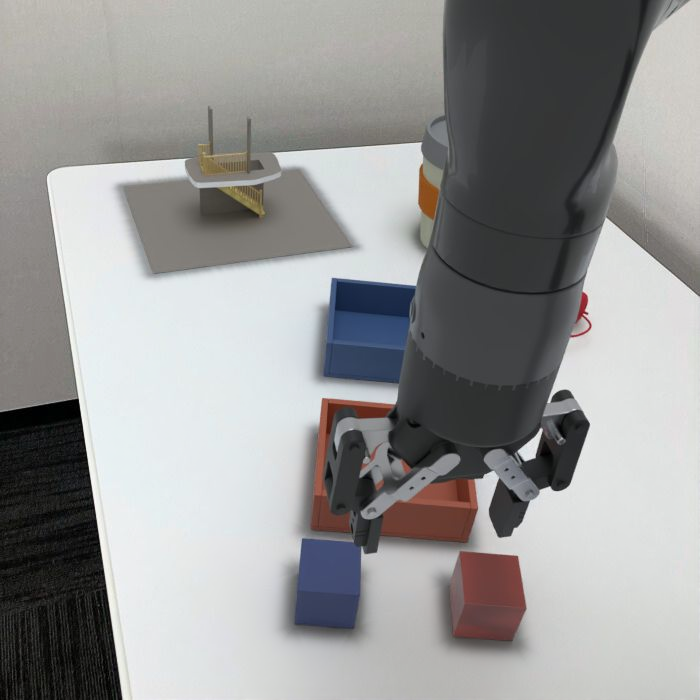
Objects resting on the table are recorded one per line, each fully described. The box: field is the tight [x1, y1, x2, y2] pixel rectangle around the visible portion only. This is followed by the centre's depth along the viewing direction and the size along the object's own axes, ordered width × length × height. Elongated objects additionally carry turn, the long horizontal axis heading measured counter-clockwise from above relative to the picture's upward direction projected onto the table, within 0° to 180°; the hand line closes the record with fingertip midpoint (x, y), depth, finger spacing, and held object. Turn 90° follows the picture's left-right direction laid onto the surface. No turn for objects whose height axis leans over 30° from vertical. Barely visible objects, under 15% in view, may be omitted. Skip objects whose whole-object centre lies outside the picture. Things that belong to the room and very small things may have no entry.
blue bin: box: [322, 277, 416, 384], centre depth 82 cm, size 13×11×4 cm
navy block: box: [293, 537, 362, 629], centre depth 58 cm, size 4×4×4 cm
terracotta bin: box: [310, 397, 479, 543], centre depth 67 cm, size 13×11×4 cm
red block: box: [448, 550, 527, 642], centre depth 58 cm, size 4×4×4 cm
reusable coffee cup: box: [417, 113, 448, 249], centre depth 96 cm, size 13×13×15 cm
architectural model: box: [122, 105, 354, 275], centre depth 96 cm, size 21×25×14 cm
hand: (434, 533), depth 48 cm, fingers open, 8 cm apart
